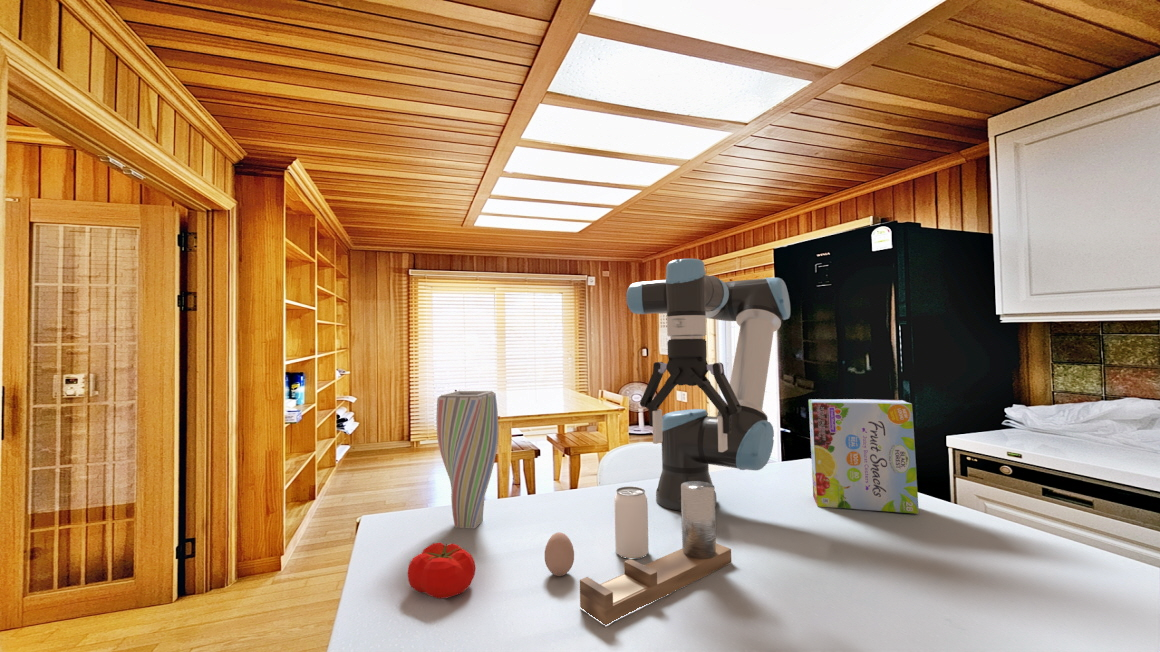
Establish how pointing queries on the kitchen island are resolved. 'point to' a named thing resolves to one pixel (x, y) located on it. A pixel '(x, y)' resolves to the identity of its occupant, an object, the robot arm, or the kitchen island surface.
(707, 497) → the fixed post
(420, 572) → the tomato
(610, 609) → the rail
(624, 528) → the can
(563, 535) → the egg
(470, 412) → the vase
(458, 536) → the kitchen island surface
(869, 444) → the snack box
